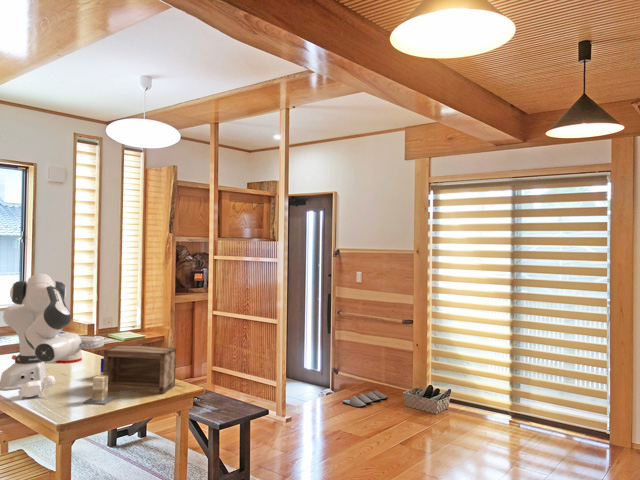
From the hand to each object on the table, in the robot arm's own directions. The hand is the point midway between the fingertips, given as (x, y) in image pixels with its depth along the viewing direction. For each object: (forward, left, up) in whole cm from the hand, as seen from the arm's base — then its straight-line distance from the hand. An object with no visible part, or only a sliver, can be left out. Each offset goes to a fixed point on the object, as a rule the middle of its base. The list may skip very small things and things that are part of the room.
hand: (88, 338), depth 219 cm
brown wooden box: (+31, +12, -30) cm, 45 cm away
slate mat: (+9, +6, -30) cm, 31 cm away
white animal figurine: (-8, +31, -30) cm, 44 cm away
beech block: (+9, +6, -29) cm, 31 cm away
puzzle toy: (+33, +39, -30) cm, 59 cm away
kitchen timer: (+32, +92, -30) cm, 102 cm away
